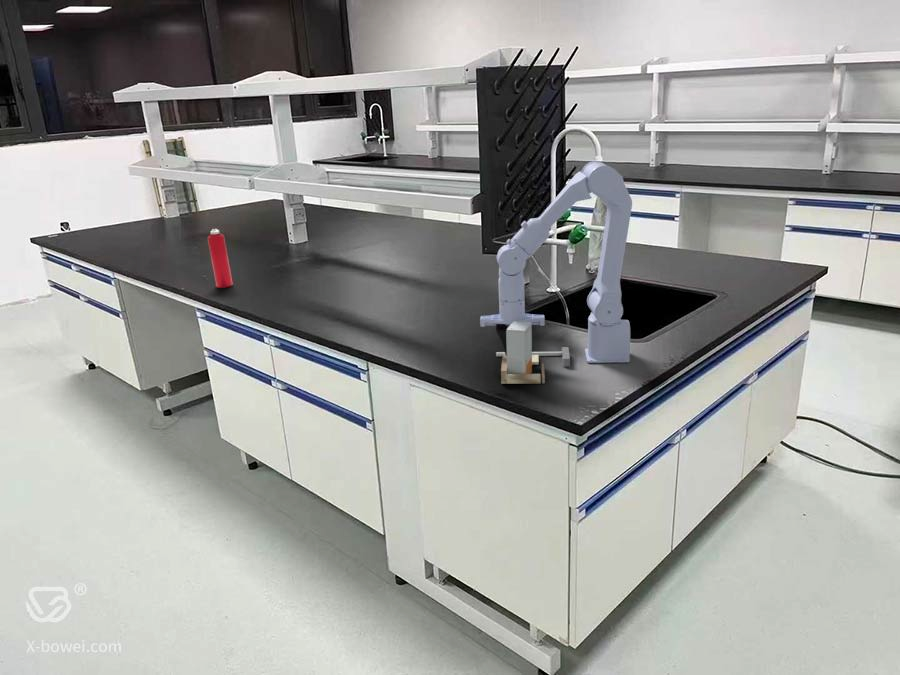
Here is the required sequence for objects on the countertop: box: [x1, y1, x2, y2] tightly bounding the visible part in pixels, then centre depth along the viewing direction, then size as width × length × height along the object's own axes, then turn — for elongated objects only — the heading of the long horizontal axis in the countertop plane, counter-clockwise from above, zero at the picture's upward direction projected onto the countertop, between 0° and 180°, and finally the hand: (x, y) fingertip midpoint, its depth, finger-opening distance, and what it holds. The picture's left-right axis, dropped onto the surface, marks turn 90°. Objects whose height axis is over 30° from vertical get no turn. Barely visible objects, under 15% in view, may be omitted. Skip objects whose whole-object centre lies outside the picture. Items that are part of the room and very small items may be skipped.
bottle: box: [207, 228, 234, 289], centre depth 232 cm, size 6×5×20 cm
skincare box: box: [506, 321, 533, 374], centre depth 147 cm, size 6×4×12 cm
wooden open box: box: [500, 353, 546, 385], centre depth 151 cm, size 9×15×6 cm, turn 174°
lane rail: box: [495, 346, 571, 368], centre depth 157 cm, size 17×7×2 cm, turn 83°
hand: (513, 354), depth 157 cm, fingers closed
